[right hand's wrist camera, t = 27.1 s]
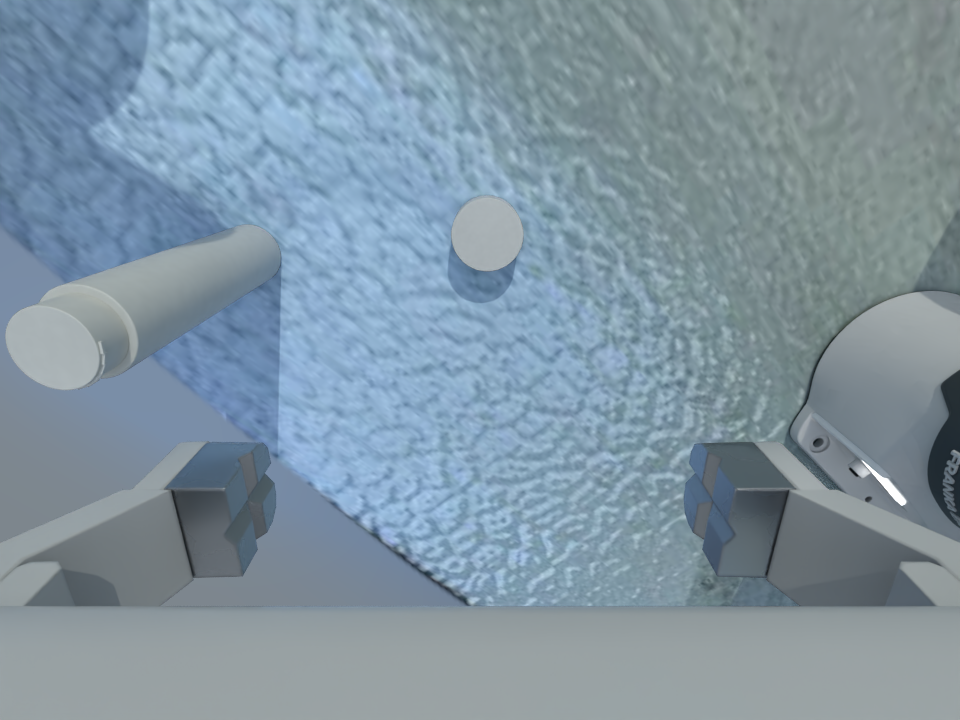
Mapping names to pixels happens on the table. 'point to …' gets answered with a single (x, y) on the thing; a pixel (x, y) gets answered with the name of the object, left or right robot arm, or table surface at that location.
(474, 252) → the lid
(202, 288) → the tall grey cylinder
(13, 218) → the table surface
